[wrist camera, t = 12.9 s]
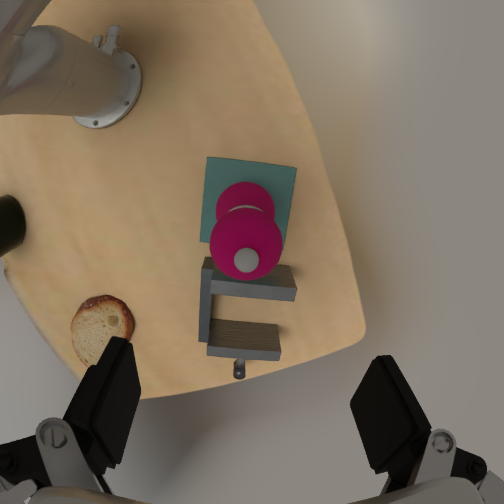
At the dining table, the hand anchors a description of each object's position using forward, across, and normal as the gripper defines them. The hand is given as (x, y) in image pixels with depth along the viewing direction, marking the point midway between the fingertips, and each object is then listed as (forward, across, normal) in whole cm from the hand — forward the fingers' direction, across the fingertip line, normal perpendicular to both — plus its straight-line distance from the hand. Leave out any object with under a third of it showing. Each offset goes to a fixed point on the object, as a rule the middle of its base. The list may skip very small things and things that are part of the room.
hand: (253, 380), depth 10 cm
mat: (+31, 0, 0) cm, 31 cm away
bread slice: (+32, +25, +28) cm, 49 cm away
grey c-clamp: (+31, -2, +18) cm, 36 cm away
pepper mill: (+31, 0, 0) cm, 31 cm away
